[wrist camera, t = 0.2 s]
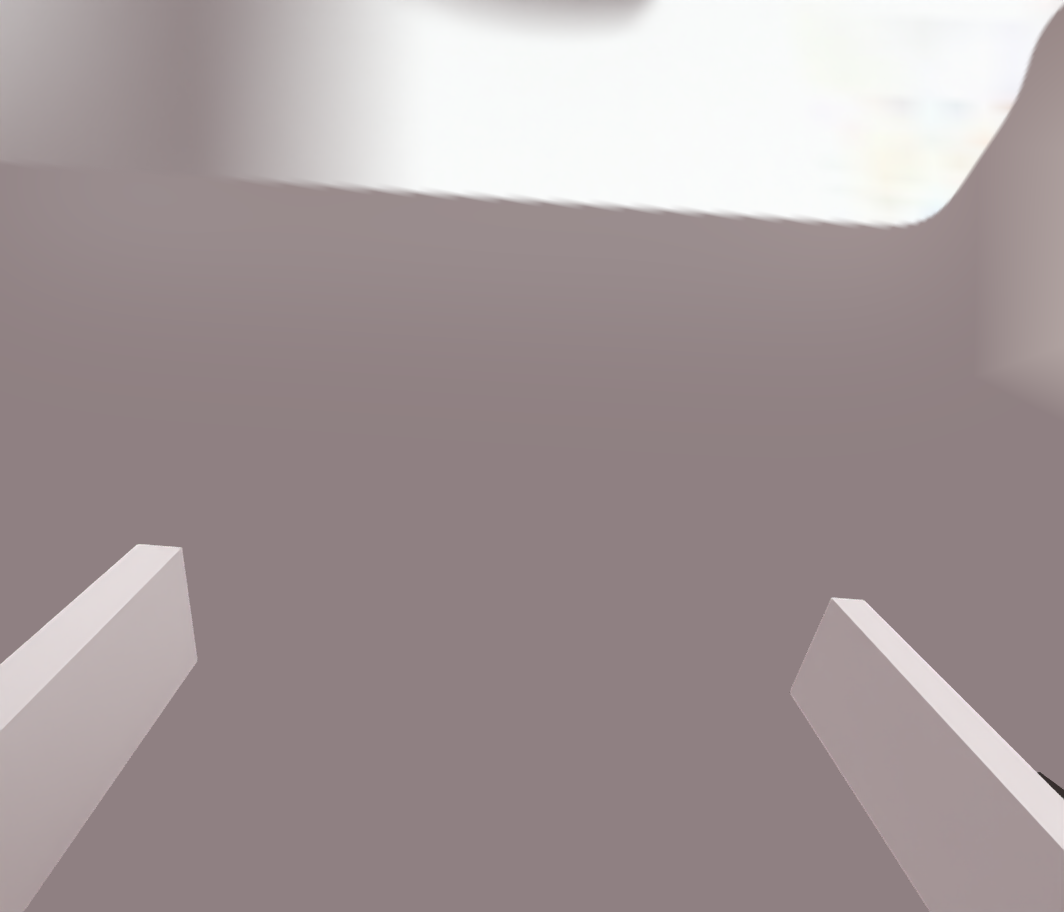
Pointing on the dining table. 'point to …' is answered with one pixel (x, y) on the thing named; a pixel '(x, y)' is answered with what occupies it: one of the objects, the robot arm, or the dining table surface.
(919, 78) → the dining table surface
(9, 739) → the robot arm
